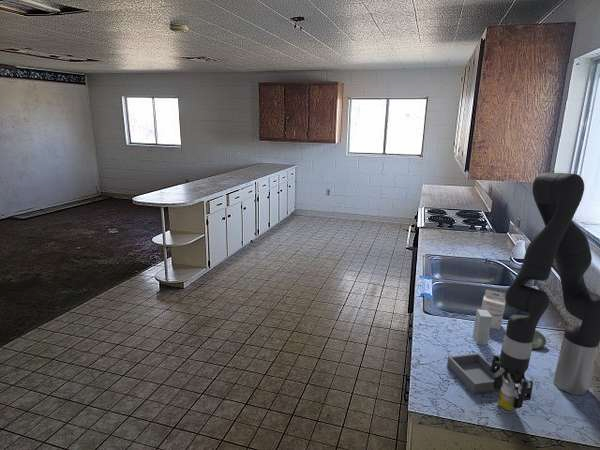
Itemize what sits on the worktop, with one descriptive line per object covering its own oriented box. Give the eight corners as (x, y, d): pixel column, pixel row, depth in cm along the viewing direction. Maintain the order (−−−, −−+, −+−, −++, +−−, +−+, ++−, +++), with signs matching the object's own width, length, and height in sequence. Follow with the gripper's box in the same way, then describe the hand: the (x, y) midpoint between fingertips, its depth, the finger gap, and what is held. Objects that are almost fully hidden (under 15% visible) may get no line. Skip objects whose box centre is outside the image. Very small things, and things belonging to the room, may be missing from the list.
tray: (476, 362, 143) (478, 353, 142) (506, 390, 129) (508, 379, 128) (446, 366, 141) (448, 356, 140) (473, 394, 127) (474, 384, 126)
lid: (547, 343, 157) (550, 332, 156) (541, 354, 150) (543, 342, 149) (518, 333, 164) (520, 322, 162) (511, 343, 157) (513, 331, 155)
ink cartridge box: (478, 324, 170) (483, 292, 166) (479, 319, 174) (484, 288, 170) (500, 330, 166) (506, 298, 162) (501, 325, 170) (507, 293, 166)
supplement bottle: (500, 400, 125) (504, 376, 123) (516, 407, 122) (521, 383, 120) (495, 408, 121) (500, 384, 119) (512, 415, 118) (517, 391, 116)
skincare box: (487, 345, 155) (492, 317, 151) (476, 344, 155) (480, 316, 152) (483, 336, 160) (487, 309, 157) (472, 335, 161) (476, 308, 158)
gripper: (546, 364, 111) (534, 413, 115) (510, 336, 124) (501, 381, 128) (522, 366, 109) (512, 416, 113) (488, 338, 123) (480, 383, 127)
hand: (506, 397), depth 121 cm, fingers open, 8 cm apart
